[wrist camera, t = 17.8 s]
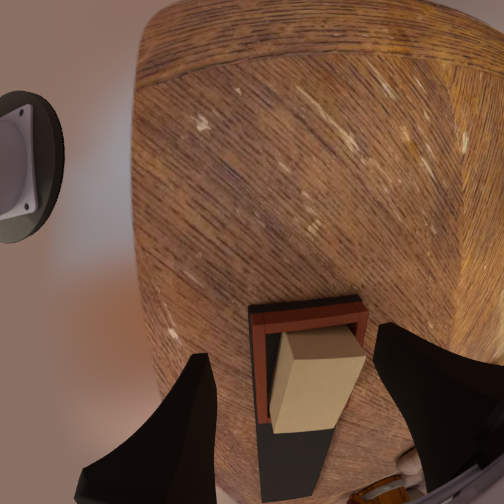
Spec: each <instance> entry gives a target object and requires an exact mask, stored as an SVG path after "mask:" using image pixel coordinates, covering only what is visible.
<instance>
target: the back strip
mask: <svg viewBox="0 0 504 504" xmlns="http://www.w3.org/2000/svg"><path fill="white" fill-rule="evenodd" d="M368 315H369V310H368V309H367V308H366V307H365V306H364V304H363V303H362V299H361V298H360V297H359V296H358V295H350V296H342V297H334V298H326V299H317V300H308V301H299V302H289V303H278V304H267V305H256V306H248V319H249V334H250V349H251V363H252V378H253V392H254V406H255V419H256V433H257V446H258V459H259V471H260V484H261V496H262V503H266V502H275V501H283V500H290V499H296V498H302V497H308V496H311V495H312V493H313V490H314V488H315V485H316V483H317V480H318V478H319V475H320V472H321V469H322V467H323V464H324V461H325V458H326V455H327V452H328V449H329V446H330V443H331V440H332V436H333V433H334V430H335V427H336V424H335V426H334V428H331V429H323V430H314V431H304V432H292V433H273V427H272V421H271V415H270V409H269V403H268V394H269V390H270V385H271V381H272V376H273V371H274V366H275V361H276V356H277V351H278V346H279V341H280V336H281V332H290V331H298V330H306V329H314V328H321V327H329V326H335V325H342V324H347V326H348V327H349V329H350V331H351V332H352V334H353V335H354V337H355V338H356V340H357V341H358V343H359V344H360V346H361V348H362V346H363V341H364V336H365V331H366V326H367V320H368ZM350 396H351V394H350ZM350 396H349V398H348V400H347V403H346V405H345V407H344V409H343V410H346V409H347V407H348V403H349V400H350Z"/></svg>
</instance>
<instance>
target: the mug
mask: <svg viewBox="0 0 504 504" xmlns="http://www.w3.org/2000/svg"><path fill="white" fill-rule="evenodd" d="M406 483H407V481H406V480H404V479H402V477H401V475H395V476H393V477H392V476H391V477H389V478H386V479H383V480H381V481H379V482H377V483H374V484H373V485H371V486H369V487H367V488H365V489H364V490H362V491H361V492H360V493H358V494H357V493H354V494H351V495H350V496H349V500H348V501H347V504H408V503H410V502H412V501H410V498H409V496H408V494H407V492H406V489H405V488H406Z"/></svg>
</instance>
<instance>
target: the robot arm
mask: <svg viewBox="0 0 504 504" xmlns="http://www.w3.org/2000/svg"><path fill="white" fill-rule="evenodd" d="M23 111H24V113H23V115H22V112H23ZM28 205H29V209H28ZM37 210H38V197H37V189H36V180H35V169H34V153H33V106H32V105H31V104H26V105H24V106H22V107H20V108H18V109H16V110H14V111H12V112H10V113H8V114H6V115H4V116H3V117H1V118H0V220H3V219H7V218H11V217H16V216H20V215H24V214H29V213H33V212H35V211H37ZM373 363H374V365H375V368H376V370H377V372H378V374H379V377H380V379H381V381H382V382H383V384H384V386H385V387H386V389H387V390H388V392H389V394H390V395H391V397H392V399H393V400H394V402H395V404H396V405H397V407H398V408H399V410H400V412H401V413H402V415H403V417H404V419H405V421H406V423H407V426H408V428H409V430H410V433H411V435H412V438H413V441H414V443H415V446H416V449H417V452H418V455H419V459H420V462H421V466H422V469H423V474H424V479H425V483H426V490H427V493H428V494H426V495H424V496H422V497H420V498H418V499H416V500H414V501H412V502H410V503H408V504H441V503H442V502H444V501H446V500H448V499H449V498H451V497H452V496H453V498H452V500H451V501H449V502H448V503H446V504H504V366H501V365H494V364H488V363H484V362H480V361H476V360H472V359H469V358H466V357H463V356H460V355H457V354H455V353H452V352H450V351H447V350H445V349H443V348H441V347H439V346H436V345H434V344H432V343H430V342H428V341H426V340H425V339H423V338H421V337H419V336H417V335H415V334H413V333H411V332H410V331H408V330H406V329H404V328H402V327H400V326H398V325H396V324H394V323H392V322H389V323H385V324H381V325H379V327H378V333H377V339H376V345H375V350H374V355H373ZM216 420H217V388H216V384H215V380H214V376H213V372H212V369H211V365H210V361H209V357H208V353H198V354H192V355H191V356H190V358H189V360H188V362H187V364H186V366H185V367H184V369H183V371H182V373H181V374H180V376H179V378H178V379H177V381H176V382H175V384H174V386H173V387H172V389H171V390H170V392H169V393H168V395H167V396H166V397H165V399H164V400H163V401H162V403H161V404H160V406H159V407H158V408H157V409H156V411H155V412H154V413H153V414H152V415H151V417H150V418H149V419H148V420H147V421H146V422H145V423H144V424H143V425H142V426H141V427H140V428H139V429H138V430H137V431H136V432H135V433H134V434H133V435H132V436H131V437H130V438H128V439H127V440H126V441H125V442H124V443H122V444H121V445H120V446H118V447H117V448H116V449H115V450H113V451H112V452H110V453H109V454H107V455H106V456H104V457H103V458H101V459H100V460H98V461H96V462H94V463H93V464H91V465H89V466H87V467H85V468H83V470H82V472H81V475H80V478H79V481H78V485H77V488H76V492H75V496H74V500H75V501H76V502H77V504H217V500H216V489H215V474H214V446H215V433H216Z"/></svg>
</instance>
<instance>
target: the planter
mask: <svg viewBox="0 0 504 504" xmlns="http://www.w3.org/2000/svg"><path fill="white" fill-rule="evenodd" d="M406 492H407V494H408V496H409V498H410V501H414V500H416V499H418V498H420V497H422V496H424V493H423V492H421V491H419V490H415V489H410V490H406Z"/></svg>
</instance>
